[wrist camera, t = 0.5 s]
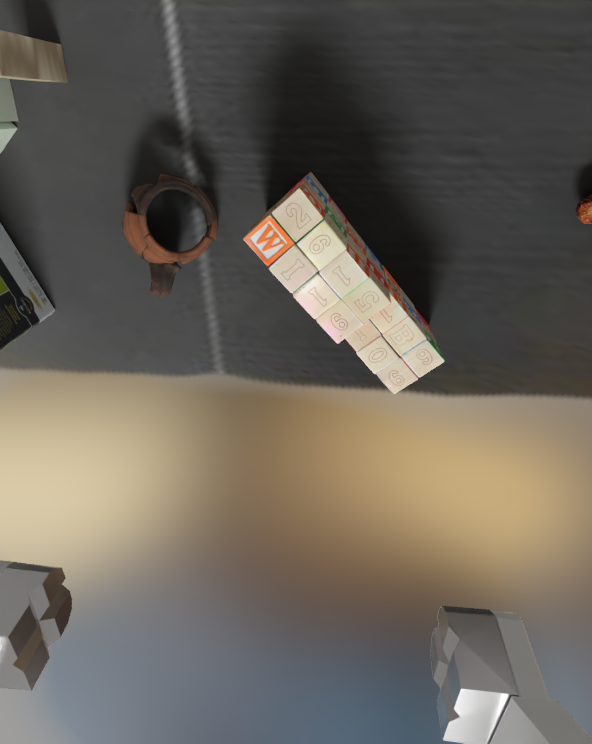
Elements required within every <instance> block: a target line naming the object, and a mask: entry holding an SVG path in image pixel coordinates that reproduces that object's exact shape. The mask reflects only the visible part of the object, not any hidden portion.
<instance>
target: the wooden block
mask: <svg viewBox="0 0 592 744" xmlns="http://www.w3.org/2000/svg"><path fill="white" fill-rule="evenodd" d="M0 78H9V79H20V80H30V81H44V82H67V76H66V70H65V64H64V58H63V52H62V46H61V44H56V43H52V42H48V41H44V40H39V39H35V38H31V37H27V36H22V35H18V34H14V33H10V32H5V31H1V30H0Z"/></svg>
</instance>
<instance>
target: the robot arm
mask: <svg viewBox="0 0 592 744" xmlns="http://www.w3.org/2000/svg"><path fill="white" fill-rule="evenodd" d="M64 580H65V575H64V572H63V570H62V568H60V567H51V566H42V565H34V564H26V563H17V562H10V561H0V688H8V689H20V690H32V689H33V687H34V685H35V683H36V681H37V680H38V678H39V676H40V674H41V672H42V671H43V669H44V667H45V665H46V663H47V661H48V660H49V650H48V646H49V645H51V644H52V643H53V642H55V641H56V640H57V639H58V638H60V637H61V635H62V633H63V632H64V630H65V628H66V626H67V624H68V621H69V617H70V613H71V609H72V597H71V594H70V591H69V590H68V589H67V588H65V587H64V586H63V585H62V583H63V581H64ZM437 617H438V623H439V627H437V628H436V629H434V630H433V635H432V639H431V666H432V673H433V679H434V680H435V682H436V683H437V684H438V685H439V687H440V688H441V691H440V694H439V697H438V700H437V707H438V713H439V719H440V725H441V732H442V738H443V740H445V741H452V742H459V743H465V744H592V738H591V737H590V736H589V735H588V734H587V733H586V732H585V731H584V730H583V729H582V727H581V726H580V725H579V724H578V723H577V722H576V721H575V720H574V719H573V717H572V716H571V715H570V714H569V713H568V712H567V711H566V710H565V709H564V708H563V706H562V705H561V704H560V703H559V702H558V701H552V700H550V699H549V696H548V694H547V690H546V688H545V685H544V682H543V679H542V676H541V673H540V670H539V667H538V665H537V662H536V659H535V656H534V653H533V650H532V648H531V644H530V642H529V639H528V636H527V633H526V630H525V627H524V624H523V622H522V619H521V618H520V616H519V615H518V614H516V613H511V612H498V611H490V610H486V609H474V608H462V607H449V606H442V607H441V608H440V609H439V612H438V616H437Z"/></svg>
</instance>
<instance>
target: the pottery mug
mask: <svg viewBox="0 0 592 744" xmlns="http://www.w3.org/2000/svg"><path fill="white" fill-rule="evenodd" d="M166 190H179V191H182V192H185V193H187V194H189V195H190V196H192V197H193V198H194V199H195V200H196V201H197V202H198V204H199V205H200V207H201V208H202V210H203V213H204V216H205V221H206V224H207V231H206V234H205V236H203V237H202V239H201V241H200V242H199V243H198V244H197V245H196V246H195V247H194V248H192V249H190V250H187V251H183V252H174V251H171V250H168V249H166V248H164V247H162V246H161V245H159V244H158V243H157V242H156V241H155V239H154V238H153V237H152V235H151V233H150V231H149V229H148V225H147V215H146V214H147V209H148V206H149V204H150V202H151V201H152V199H153V198H154V197H155V196H156V195H158V194H159V193H161V192H163V191H166ZM131 196H132V197H133V198H134V202H135V204H136V208H137V211H138V214H137V213H132V212H133V206H131V204H129V203H128V204H127V205H126V208H125V211H124V214H123V222H122V226H123V231H124V234H125V237H126V239H127V241H128V243H129V244H130V245H131V247H132V248H133V250H134V251H135V252H136V253H137V254H138V255H139V256H140V257H141V258H142V259H144V260H146V261H147V262H148V263H149V266H150V271H151V280H152V283H151V289H150V291H151V292H152V293H153V294H154V295H156V296H158V297H164V296H166V295H168V294H170V292H171V289H172V285H173V281H174V276H175V274H176V273H177V272H178V271H180V270H181V267H180V266H179V265H178V264H177V261H180V262H181V264H185V263H188V262H190V261H192V260H193V259H195V258H197V257H198V256H199V255H201V254H202V253H203V252H204V251H205V250H206V249H207V248H208V247H209V245H210V244H211V242H212V239H213V240H216V237H217V231H218V222H217V213H216V211H215V209H214V207H213V205H212V203H211V201H210V200H209V198H208V197H207V196H206V194H205V193H204V192H203V191H202V190H201V189H200V188H199V187H198V186H196V185H194V186H193V185H192V183H191V182H190V181H188V180H185V179H182V178H179V177H174V176H170V175H167V174H159V178H158V182H157V184H156V185H152V184H144V185H142V186H137V187H135V189H134V190H133V191H132V193H131Z"/></svg>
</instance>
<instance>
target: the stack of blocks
mask: <svg viewBox="0 0 592 744" xmlns="http://www.w3.org/2000/svg"><path fill="white" fill-rule="evenodd" d="M244 241H245V242H246V243H247V244H248V245H249V246H250V247H251V249H252V250H253V251H254V252H255V253H256V254H257V255H258V256H259V258H260V259H261V260H262V261H263V262H264V263H265V264H266V265H267V266H268V267H269V270H270V271H271V272H272V273H273V274H274V275H275V277H276V278H277V279H278V280H279V281H280V282H281V283H282V284H283V285H284V286H285V287H286V288H287V289H288V291H289V292H290V293H293V297H294V298H295V299H296V300H297V302H298V303H299V304H300V305H301V306H302V307H303V308H304V309H305V310H306V311H307V312H308V313H309V314H310V315H311V317H312V318H314V319H316V321H317V322H318V324H319V325H320V326H321V327H322V328H323V329H324V330H325V331H326V332H327V333H328V334H329V335H330V337H331V338H332V339H333V340H334V341H335V342H336V343H337V344H338V343H339V342H341V341H342V340H343V339H345V340H346V341H347V342H348V343H349V344H350V345H351V347H352V348H353V349H354V350H355V351H356V353H357V355H358V356H359V357H360V358H361V359H362V361H363V362H364V363H365V364H366V365H367V366H368V367H369V369H370V370H371V371H372V372H373V373H374V374H376V375H377V376H378V377H379V378H380V380H381V381H382V382H383V383H384V384H385V385H386V386H387V388H388V389H389V390H390V391H391V392H392V393H393V394H395V393H397V392H398V391H400V390H402V389H403V388H405V387H406V386H408V385H410V384H411V383H413V382H414V381H416V380H418V378H419V377H421V376H423V375H424V374H426V373H428V372H429V371H431V370H432V369H434V368H435V367H437V366H438V365H440V364H442V363H443V362H445V360H444V357H443V355H442V352H441V350H440V348H439V346H438V345H437V343H436V340H435V338H434V336H433V334H432V331H431V329H430V327H429V325H428V324H427V322H426V321H425V320H424V319H423V317H422V316H421V315H420V314H419V312H418V311H417V310H416V309H415V307H414V305H413V303H412V302H411V301H410V300H409V298H408V297H407V296H406V294H405V293H404V292H403V291H402V289H401V288H400V287H399V286H398V284H397V283H396V281H395V280H394V279H393V277H392V276H391V275H390V274H389V272H388V271H387V270H386V268H385V267H384V266H383V265H381V263H380V262H379V261H378V259H377V258H376V257H375V255H374V254H373V253H372V251H371V250H370V249H369V248H368V246H367V245H366V244H365V243H364V241H363V240H362V239H361V237H360V236H359V235H358V234H357V232H356V231H355V230H354V228H353V227H352V226H351V225H350V223H349V222H348V221H347V218H346V217H345V216H344V214H343V213H342V212H341V210H340V209H339V208H338V207H337V205H336V204H335V203H334V201H333V200H332V199H331V197H330V196H329V195H328V193H327V192H326V190H325V189H324V188H323V186H322V185H321V184H320V183H319V181H318V180H317V179H316V177H315V176H314V175H313V173H312V172H309V173H308V174H307V175H306V176H305V177H304V178H303V179H301V180H300V181H299V182H298V183H297V184H296V185H295V186H294V187H293V188H292V189H291V190H289V192H288V193H287V194H286V195H285V196H284V197H282V198H281V199H280V200H279V201H278V202H277V203H276V204H275V205H274V206H272V207H271V208H270V209H269V210H268V211H267V212H266V213H265V214H264V215H263V216H262V218H261V219H260V220H259V221H258V222H257V223H256V224H255V225H254V226H253V227H252V228H251V229H250V232H249V233H248V234H247V235H246V236H245V237H244Z"/></svg>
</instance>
